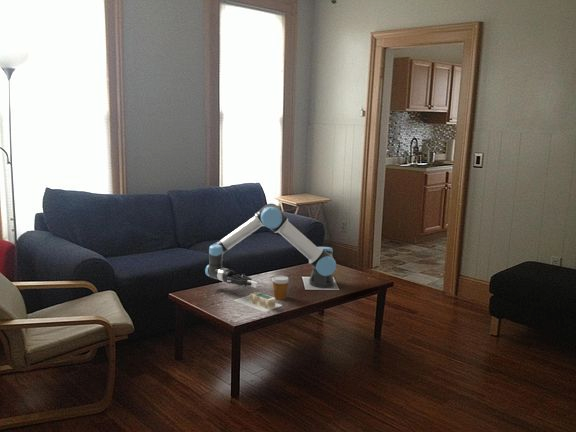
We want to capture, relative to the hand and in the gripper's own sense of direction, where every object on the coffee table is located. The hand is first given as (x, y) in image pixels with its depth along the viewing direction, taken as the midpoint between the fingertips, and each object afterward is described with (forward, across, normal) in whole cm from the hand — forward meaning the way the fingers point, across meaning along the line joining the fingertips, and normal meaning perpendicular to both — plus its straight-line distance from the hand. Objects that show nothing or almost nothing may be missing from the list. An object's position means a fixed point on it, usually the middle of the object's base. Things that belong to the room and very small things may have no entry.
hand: (256, 285), depth 285 cm
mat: (0, -1, -10) cm, 10 cm away
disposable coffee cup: (+3, -16, -11) cm, 19 cm away
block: (-3, 0, -8) cm, 8 cm away
